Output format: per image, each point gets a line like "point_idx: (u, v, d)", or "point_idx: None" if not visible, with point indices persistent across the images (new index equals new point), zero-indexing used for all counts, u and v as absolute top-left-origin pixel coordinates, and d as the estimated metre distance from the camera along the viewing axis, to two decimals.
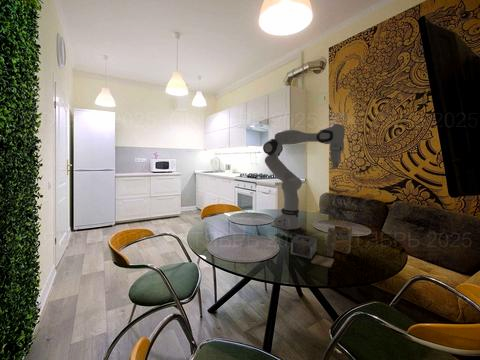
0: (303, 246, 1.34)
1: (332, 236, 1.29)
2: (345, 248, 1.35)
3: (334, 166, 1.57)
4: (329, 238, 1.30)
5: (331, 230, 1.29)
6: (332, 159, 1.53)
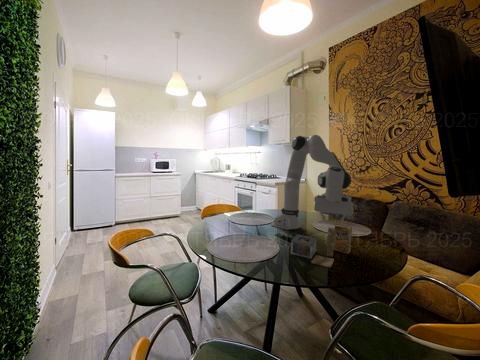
0: (303, 246, 1.34)
1: (332, 236, 1.29)
2: (345, 248, 1.35)
3: None
4: (329, 238, 1.30)
5: (331, 230, 1.29)
6: (352, 212, 1.24)
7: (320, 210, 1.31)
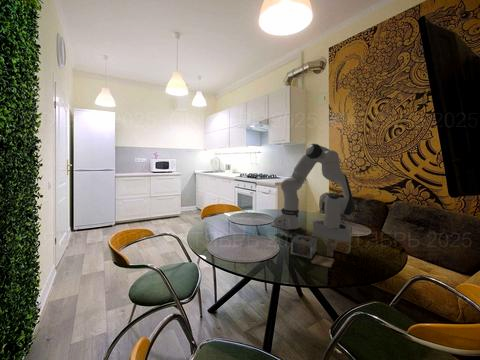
0: (303, 246, 1.34)
1: None
2: (345, 248, 1.35)
3: None
4: None
5: None
6: (350, 239, 1.26)
7: (318, 235, 1.33)
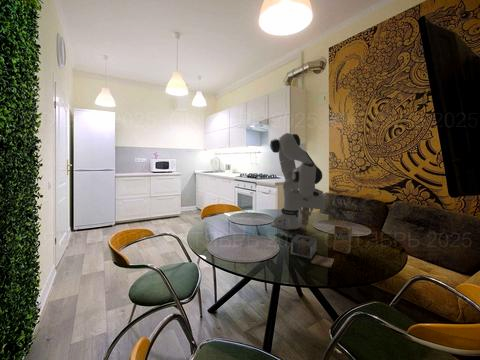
0: (303, 246, 1.34)
1: None
2: (345, 248, 1.35)
3: (310, 213, 1.32)
4: None
5: (306, 198, 1.31)
6: (323, 206, 1.27)
7: (294, 204, 1.35)
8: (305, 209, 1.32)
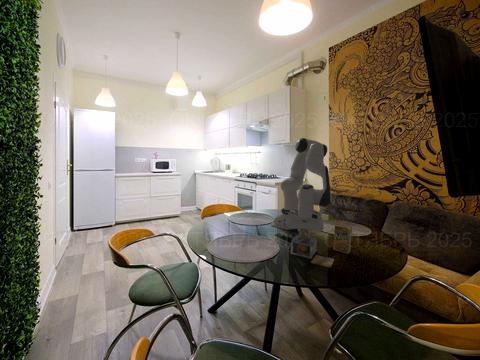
0: (303, 249, 1.34)
1: None
2: (345, 248, 1.35)
3: (309, 234, 1.34)
4: None
5: (304, 220, 1.33)
6: (322, 229, 1.29)
7: (293, 225, 1.36)
8: (304, 230, 1.33)
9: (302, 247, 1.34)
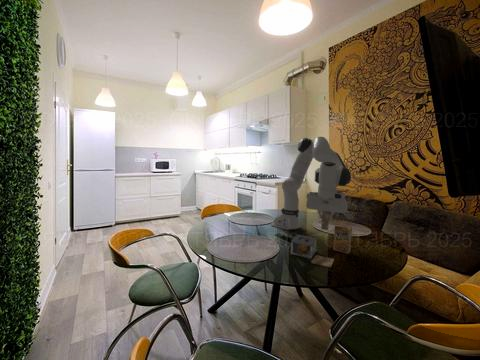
0: (303, 249, 1.34)
1: None
2: (345, 248, 1.35)
3: (331, 217, 1.21)
4: None
5: (326, 201, 1.20)
6: (346, 210, 1.16)
7: (312, 208, 1.23)
8: (325, 213, 1.20)
9: (302, 247, 1.34)
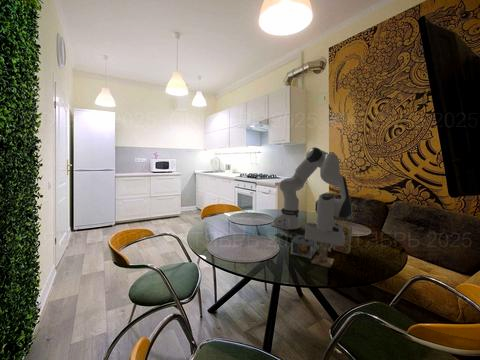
0: (303, 249, 1.34)
1: None
2: (345, 248, 1.35)
3: None
4: (322, 242, 1.23)
5: None
6: (344, 243, 1.18)
7: (310, 238, 1.25)
8: (323, 245, 1.23)
9: (302, 247, 1.34)
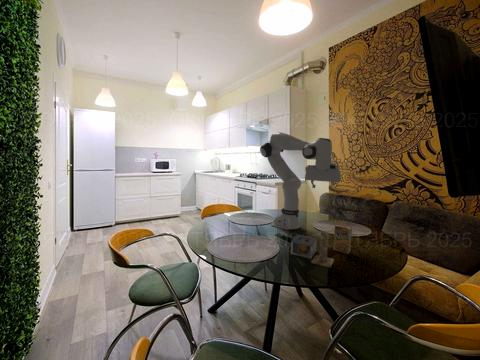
0: (303, 249, 1.34)
1: (325, 240, 1.22)
2: (345, 248, 1.35)
3: (331, 187, 1.36)
4: (322, 242, 1.23)
5: (324, 234, 1.22)
6: (340, 179, 1.32)
7: (310, 179, 1.40)
8: (323, 245, 1.23)
9: (302, 247, 1.34)
